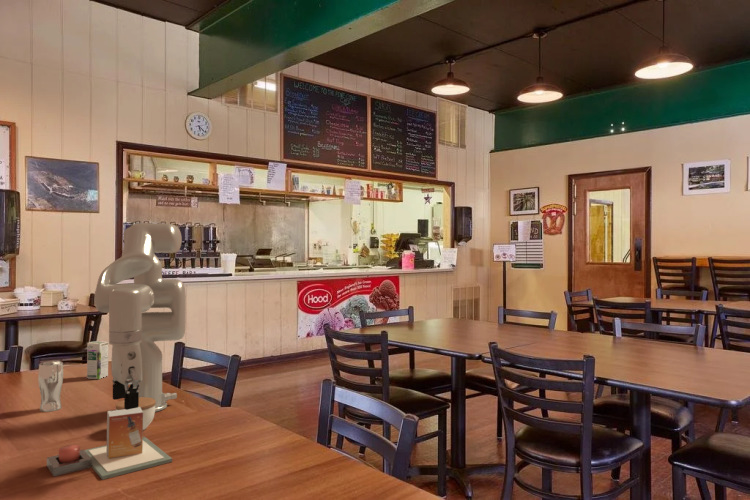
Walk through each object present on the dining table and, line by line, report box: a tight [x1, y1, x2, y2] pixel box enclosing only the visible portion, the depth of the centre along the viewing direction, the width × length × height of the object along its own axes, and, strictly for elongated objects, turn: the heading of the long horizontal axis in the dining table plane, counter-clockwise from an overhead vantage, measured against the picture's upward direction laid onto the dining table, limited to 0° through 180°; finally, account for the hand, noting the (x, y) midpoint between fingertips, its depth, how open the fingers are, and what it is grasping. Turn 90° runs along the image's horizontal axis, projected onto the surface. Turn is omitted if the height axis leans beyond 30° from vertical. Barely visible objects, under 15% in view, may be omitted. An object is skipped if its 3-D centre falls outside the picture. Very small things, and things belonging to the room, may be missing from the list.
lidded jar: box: [115, 397, 156, 431], centre depth 157 cm, size 11×11×9 cm
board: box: [83, 436, 173, 481], centre depth 135 cm, size 16×20×1 cm
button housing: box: [46, 449, 93, 477], centre depth 129 cm, size 8×8×2 cm
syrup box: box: [86, 340, 109, 380], centre depth 216 cm, size 6×6×14 cm
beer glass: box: [37, 360, 64, 413], centre depth 174 cm, size 7×7×15 cm
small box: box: [106, 407, 144, 458], centre depth 136 cm, size 8×6×10 cm
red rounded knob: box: [58, 444, 81, 463], centre depth 129 cm, size 4×4×3 cm
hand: (125, 403), depth 136 cm, fingers open, 9 cm apart
